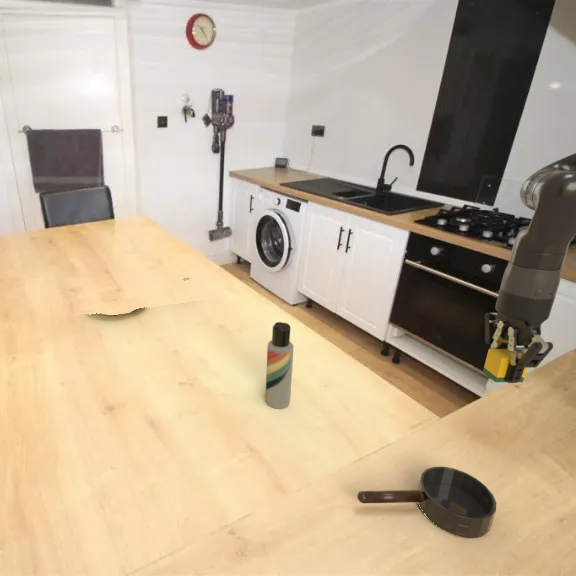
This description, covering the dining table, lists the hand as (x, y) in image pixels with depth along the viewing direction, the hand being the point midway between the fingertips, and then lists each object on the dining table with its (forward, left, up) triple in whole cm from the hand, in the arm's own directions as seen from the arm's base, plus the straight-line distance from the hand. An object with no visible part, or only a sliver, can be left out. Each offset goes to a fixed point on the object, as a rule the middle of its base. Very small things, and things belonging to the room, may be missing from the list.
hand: (503, 375), depth 76 cm
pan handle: (+26, +15, -13) cm, 33 cm away
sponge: (0, 0, 0) cm, 0 cm away
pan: (+16, +15, -16) cm, 27 cm away
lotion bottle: (+39, -15, -16) cm, 44 cm away
